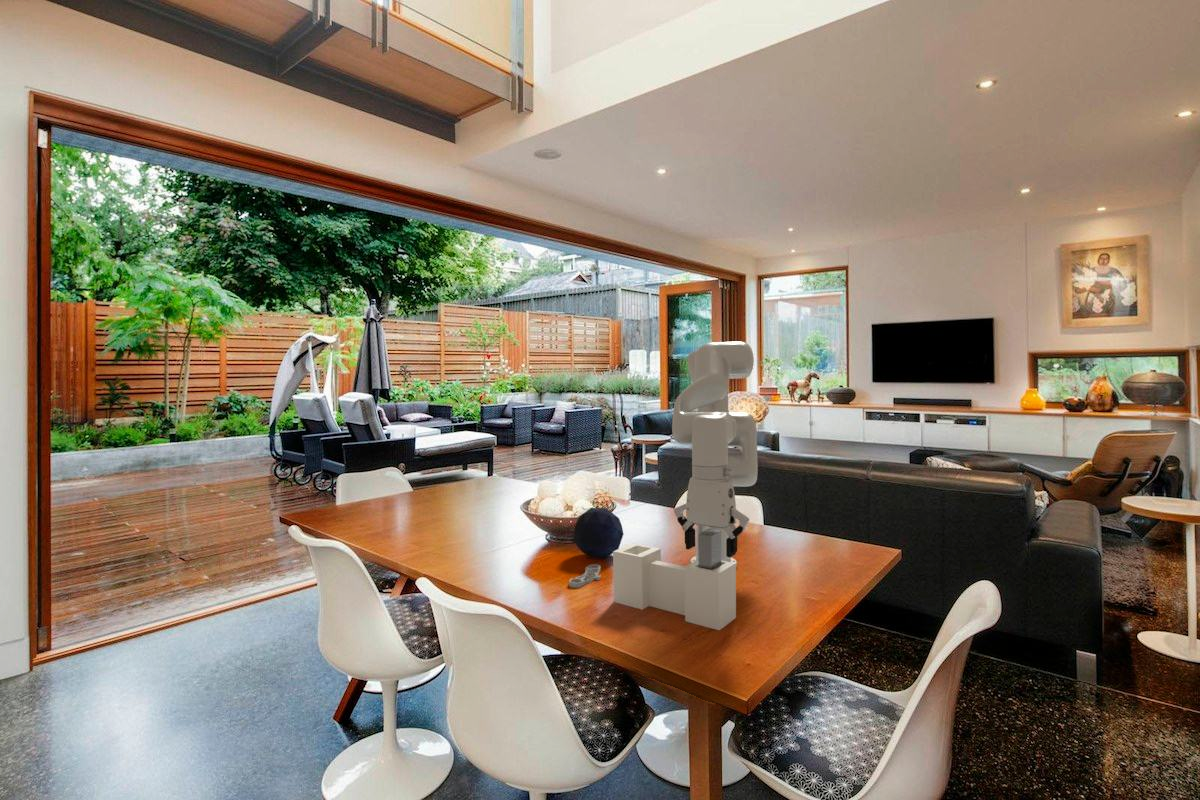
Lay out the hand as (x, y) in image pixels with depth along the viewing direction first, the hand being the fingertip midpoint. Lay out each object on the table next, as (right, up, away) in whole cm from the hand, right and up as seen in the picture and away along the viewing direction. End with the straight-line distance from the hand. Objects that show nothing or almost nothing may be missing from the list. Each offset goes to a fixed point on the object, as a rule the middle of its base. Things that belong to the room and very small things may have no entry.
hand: (710, 551), depth 130 cm
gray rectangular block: (0, -7, 0) cm, 7 cm away
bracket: (-27, -15, +28) cm, 42 cm away
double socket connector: (-7, -15, +6) cm, 17 cm away
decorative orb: (-24, -13, +47) cm, 54 cm away
